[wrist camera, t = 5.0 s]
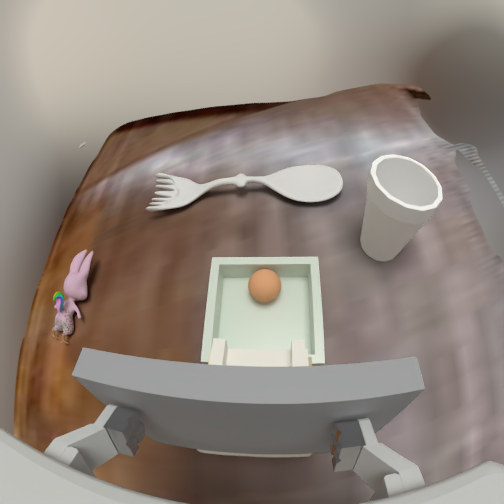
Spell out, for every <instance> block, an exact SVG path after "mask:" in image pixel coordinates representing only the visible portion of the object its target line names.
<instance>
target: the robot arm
mask: <svg viewBox="0 0 504 504" xmlns="http://www.w3.org/2000/svg"><path fill="white" fill-rule="evenodd" d="M140 418H141V415H140V413H139V411H136V410H132V409H128V408H124V407H120V406H116V405H112V404H109V405H107V406H106V408H105V409H104V411H103V412H102V413H101V415H100V416H99V417H98V419H97V420H96V422H95V423H94V424H89V425H87V426H84V427H82V428H80V429H77V430H75V431H72V432H70V433H68V434H65V435H62V436H60V437H57V438H55V439H54V440H53V441H52V443H51V444H50V445H49V447H48V448H47V449H46V450H45V452H44V453H42V452H40V451H38V450H36V449H35V448H33V447H31V446H29V445H28V444H26V443H24V442H23V441H21V440H20V439H18V438H16V437H15V436H13V435H12V434H10V433H9V432H7V431H6V430H4V429H3V428H1V427H0V504H188V503H182V502H177V501H172V500H168V499H163V498H159V497H155V496H151V495H147V494H143V493H140V492H136V491H133V490H130V489H126V488H123V487H120V486H117V485H114V484H111V483H109V482H106V481H103V480H100V479H98V478H97V477H96V476H95V475H94V473H93V472H92V470H94V469H95V468H97V467H98V466H100V465H102V464H103V463H105V462H106V461H108V460H109V459H111V458H112V457H114V456H115V455H117V454H118V453H121V454H125V455H129V456H133V457H134V456H135V454H136V452H137V450H138V448H139V446H138V443H139V442H141V441H142V440H143V438H144V435H145V426H144V423H143V422H142V421H141V420H140ZM330 453H331V454H332V455H333V459H332V464H333V470H334V472H337V471H347V470H353V471H354V472H355V473H356V474H357V475H358V476H359V477H360V478H361V479H362V480H363V481H364V482H365V483H366V484H367V485H368V486H370V487H371V488H372V489H373V490H374V491H375V493H374V495H373V496H372V498H371V499H370V501H369V502H364V503H358V504H504V465H502V464H500V463H497V462H494V461H485V462H483V463H481V464H479V465H477V466H474V467H472V468H470V469H468V470H466V471H464V472H461V473H459V474H457V475H454V476H452V477H449V478H447V479H444V480H442V481H439V482H436V483H434V484H431V485H428V486H426V485H425V482H424V480H423V477H422V475H421V472H420V470H419V467H418V466H417V465H415V464H413V463H412V462H410V461H409V460H407V459H405V458H404V457H402V456H401V455H399V454H398V453H396V452H394V451H393V450H391V449H390V448H388V447H387V446H385V445H384V444H382V443H378V441H377V438H376V435H375V433H374V430H373V427H372V424H371V422H370V419H369V418H364V419H357V420H348V421H339V422H334V424H333V433H332V434H331V436H330Z"/></svg>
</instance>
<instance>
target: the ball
mask: <svg viewBox="0 0 504 504" xmlns="http://www.w3.org/2000/svg"><path fill="white" fill-rule="evenodd" d="M248 289H249V292H250V294H251V296H252V297H253V298H254V299H256V300H257V301H260V302H269V301H272V300H274V299H275V298H276V297H277V296H278V295H279V293H280V291H281V280H280V278H279V276H278V275H277V274H276V273H275V272H273V271H272V270H269V269H261V270H258V271H256V272H255V273H253V274H252V276H251V277H250V279H249V282H248Z"/></svg>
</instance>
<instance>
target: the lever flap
mask: <svg viewBox="0 0 504 504" xmlns="http://www.w3.org/2000/svg"><path fill="white" fill-rule="evenodd" d="M72 376H73V377H74V378H75V379H76V380H77V381H79V382H80V383H81V384H82V385H83V386H84V387H85V388H86V389H87V390H89V391H90V392H91V393H92V394H93V395H94V396H95V397H97V398H98V399H99V400H100V401H101V402H103V403H104V404H105V405H106V406H107V405H109V404H112V405H116V406H120V407H124V408H128V409H132V410H136V411H139V413H140V415H141V418H140V420H141V421H142V422H143V423H144V426H145V435H147V436H148V437H150V438H151V439H153V440H154V441H156V442H158V443H163V444H169V445H174V446H180V447H186V448H193V449H197V450H198V451H199V452H205V453H214V454H224V455H236V456H255V457H299V456H310V455H311V454H312V453H325V452H330V436H331V434H332V433H333V424H334V422H339V421H348V420H357V419H364V418H369V419H370V422H371V424H372V427H373V430H374V433H376V432H378V431H379V430H380V429H381V428H382V427H384V426H385V425H386V424H387V423H388V422H390V421H391V420H392V419H393V418H394V417H395V416H397V415H398V414H399V413H400V412H401V411H402V410H403V409H404V408H406V407H407V406H408V405H409V404H410V403H411V402H412V401H413V400H414V399H415V398H416V397H417V396H418V395H419V394H420V393H421V392H422V391H423V390H424V389H425V387H424V383H423V379H422V375H421V371H420V367H419V363H418V360H417V356H415V357H408V358H401V359H393V360H385V361H376V362H366V363H355V364H341V365H324V366H309V363H308V349H305V341H304V339H294V340H292V342H291V349H229V348H228V346H227V342H226V339H219V338H213V344H212V349H211V355H210V361H209V364H196V363H185V362H174V361H165V360H157V359H149V358H142V357H135V356H128V355H122V354H116V353H110V352H104V351H99V350H94V349H89V348H84V347H83V349H82V351H81V354H80V356H79V359H78V361H77V364H76V366H75V369H74V371H73V374H72Z"/></svg>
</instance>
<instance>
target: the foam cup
mask: <svg viewBox="0 0 504 504" xmlns="http://www.w3.org/2000/svg"><path fill="white" fill-rule="evenodd" d="M366 187H367V190H368V191H367V198H366V205H365V212H364V219H363V225H362V231H361V237H360V242H361V246H362V249H363V250H364V251H365V253H366V254H367V255H368V256H369V257H371V258H373V259H374V260H377V261H383V262H386V261H389V260H392V259H393V258H394V257H395V256H396V255H397V254H398V253H399V252H400V251H401V250H402V249H403V248H404V246H405V245H406V244H407V243H408V242H409V241H410V240H411V238H412V237H413V236H414V235H415V234H416V233H417V231H418V230H419V229H420V228H421V227H422V226H423V224H424V223H425V222H427V221H429V220H430V218H431V217H432V216H433V214H434V213H435V212H436V210H437V208H438V206H439V204H440V203H441V201H442V187H441V185H440V184H439V182H438V180H437V178H436V177H435V175H434V174H433V173H432V172H431V171H429V170H428V169H427V168H426V167H425V166H424V165H422V164H421V163H419V162H417V161H415V160H413V159H411V158H409V157H404V156H400V155H395V154H393V155H384V156H381V157H379V158H378V159H376V160H375V161H374V162H373V163H372V167H371V171H370V174H369V178H368V182H367V186H366Z"/></svg>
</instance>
